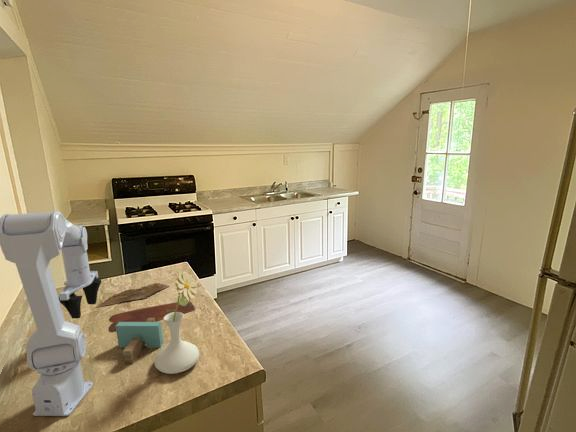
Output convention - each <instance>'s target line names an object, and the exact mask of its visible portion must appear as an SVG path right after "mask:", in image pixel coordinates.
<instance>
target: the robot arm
mask: <svg viewBox="0 0 576 432" xmlns="http://www.w3.org/2000/svg"><path fill="white" fill-rule="evenodd" d="M0 248H1V249H0V250H1V251H2V254H3V256H4V259H5V260H6V261H9V262H10V263H14V264H15V266H16V269H17V272H18V275H19V276H18V277H19V278H20V282H21V284H22V287H23V290H24V294H25V296H26V299H27V303H28V306H29V309H30V312H31V313H32V318H33V320H34V323H35V327H36V330H34V331H33V332H32V334H31V335H30V336H29V338H28V340H27V342H26V344H25V345H26V346H25V349H26V361H27V366H28V367H29V368H30V369H31V370H33V371H37V374H38V375H39V377H38V380H37V382H36V383H35V384H34V385H33V387H32V389H31V396H32V399H33V405H34V408H35V410H34V412H32V415H33V416H34V417H35V416H36V417H43V416H44V417H45V416H49V417H50V416H51V417H68V416H70V415H71V414H72V413H73V411H74V410H75V409H76V407H77V406H78V405H79V403H80V402H81V401H82V400H83V399H84V397H85V396H86V394H87V393H88V392H89V391H90V389H91V388H92V387H93V386H94V382H93V381H85V380H84V374H83V369H82V365H81V364H82V363H81V361H82V360H83V359H84V357H85V355H86V352H87V340H86V336H85V334H84V333H83V331H82V328H81V327H80V325H79V324H75V323H72V322H70V321H66V319H65V315H64V312H63V309H62V306H61V305H63V307H64V308H65V309H66V310H67V312H68V315H69V316H70V317H71V318H72V319H80V318H81V315H82V309H81V303H82V299H83V295H77V294H76V292H78V291H80V290H81V289H82V290H83V293H84V296H85V299H86V303H87V305H96V304H97V299H98V293H99V289H100V286H101V284H102V280H101V278H99V273H98V270H90V269H91V268H90V263H89V257H88V251H87V250H88V231H87V229H86V227H85V226H83V225H82V224H81V225H80V224H79V225H75V224H74V223H72V222H70V221H69V220H67V218H66V217H64V214H63V213H62V212H60V211H59V210H54V211H45V212H43V211H42V212H30V213H18V214H17V213H16V214H15V213H14V214H13V213H12V214H11V213H9V214H8V213H5V214H3V215H1V217H0ZM60 254H62V260H63V266H64V271H65V277H66V281H64V282H63V285H64V287H63V289H62V291H60V292H59V293H58V292H57V288H56V287H57V286H56V284H55V281H54V277H53V274H52V270H51V266H50V262H51V260H52V259H54V258H56V257H57V256H60Z"/></svg>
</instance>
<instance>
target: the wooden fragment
mask: <svg viewBox="0 0 576 432" xmlns="http://www.w3.org/2000/svg"><path fill="white" fill-rule="evenodd" d="M167 287H169V284H164V283H161V282H154V283H151V284H149V285H147V286H141V287H139V288H135V289H132V288H130V289H127V290H124V291H121V292H119V293H116V294H113V295H111V296H110V297H108V298H107V299H105V300H104V301H103V302H100V303H99V304H97V305H96V308H101V307H106V306H109V305H115V304H119V303H124V302H130V301H135V300H140V299H141V300H142V299H147V298H148V297H150V296H152V295H154V294H156V293H158V292H160V291H162V290H163V289H166V288H167Z"/></svg>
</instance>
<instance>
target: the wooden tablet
mask: <svg viewBox="0 0 576 432" xmlns="http://www.w3.org/2000/svg"><path fill="white" fill-rule="evenodd" d="M176 305H177V301H175V302H170V303H165V304H159V305H158V304H157V305H153V306H149V307H143V308H139V309H138V308H137V309H133V310H129V311H124V312H119V313H116V314H113V315H111V316H110V318H109V319H110V322H111V324H110V325H109V327H108V331H109V332H116V325H117V324H118V323H119V322H146V320H147V319H148V318H155V322H159V321H161V320H163V318H164V316H166V315H167V314H169V313H172V312H175V311H168V312H167V309H169V310H172V309H176ZM195 307H196V306H195V305H194V304H193V303H192V301H191V300H190V301H189V302H188V304H187V305H186V306H182V305H180V304H179V302H178V306H177V309H178V310H176V312H181V313H183V314H184V315H185V314H187V313H191V312H192V311H195V310H196V308H195Z"/></svg>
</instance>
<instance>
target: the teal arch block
mask: <svg viewBox="0 0 576 432" xmlns="http://www.w3.org/2000/svg"><path fill="white" fill-rule="evenodd" d="M115 332H116V337H117V344H118V348H121V349H122V348H124V349H125V348H126V347H127V345H128V344H129V343H130V341H131V340H132V339H133V337H141V341H146V345H145V346H146V348H149V349H150V348H155V349H156V348H159V349H160V348H161V347H162V346H163V344H164V338H163V327H162V322H161V321H155V322H119V323H118V324H117V325H116V331H115ZM161 349H162V348H161Z"/></svg>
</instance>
